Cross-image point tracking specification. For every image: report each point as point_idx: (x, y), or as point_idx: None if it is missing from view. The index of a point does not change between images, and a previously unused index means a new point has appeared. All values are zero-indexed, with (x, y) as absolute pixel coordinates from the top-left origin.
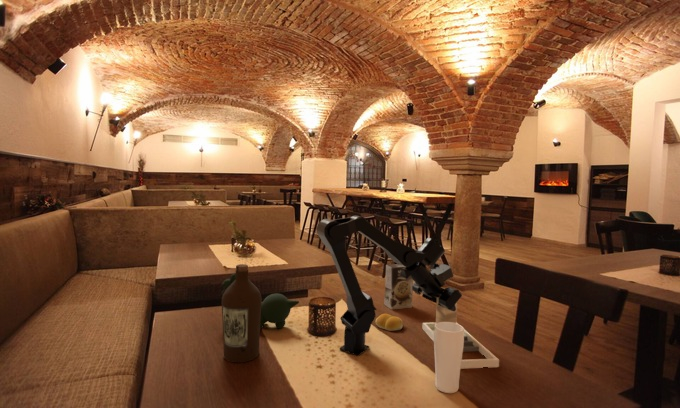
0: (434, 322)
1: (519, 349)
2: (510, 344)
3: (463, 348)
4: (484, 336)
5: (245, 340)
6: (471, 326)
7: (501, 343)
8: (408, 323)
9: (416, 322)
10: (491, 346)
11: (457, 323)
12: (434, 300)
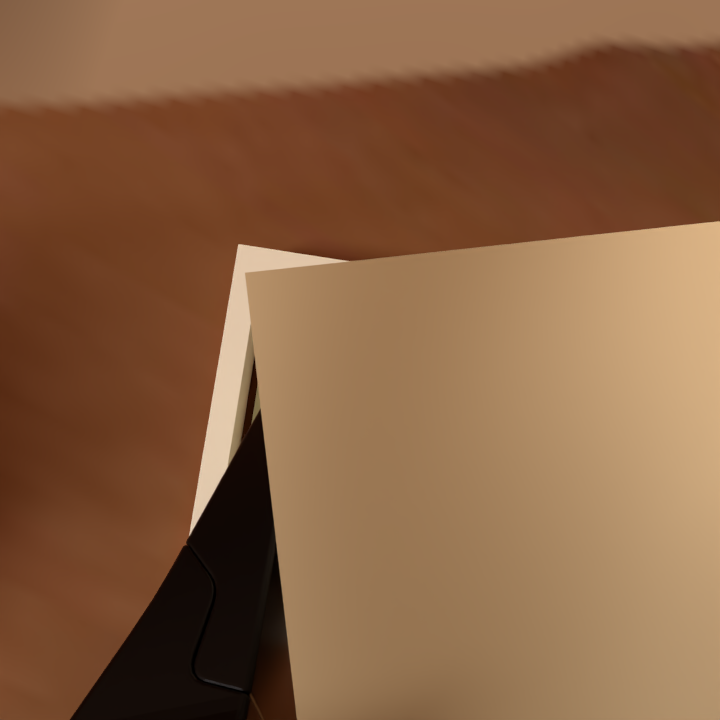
0: (200, 478)
1: (707, 56)
2: (627, 56)
3: None
4: (465, 142)
5: None
6: (249, 112)
7: (602, 105)
8: (18, 679)
9: (15, 578)
10: (639, 209)
11: (280, 254)
12: (294, 715)
